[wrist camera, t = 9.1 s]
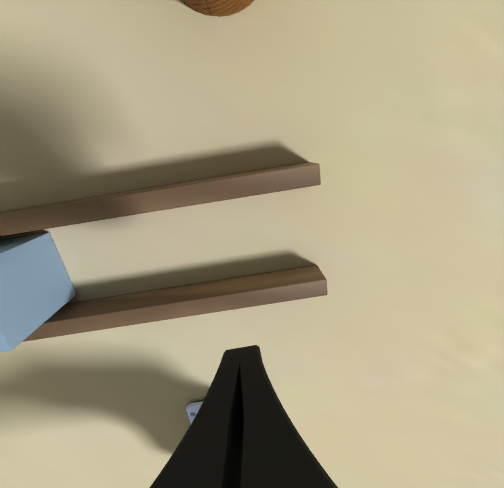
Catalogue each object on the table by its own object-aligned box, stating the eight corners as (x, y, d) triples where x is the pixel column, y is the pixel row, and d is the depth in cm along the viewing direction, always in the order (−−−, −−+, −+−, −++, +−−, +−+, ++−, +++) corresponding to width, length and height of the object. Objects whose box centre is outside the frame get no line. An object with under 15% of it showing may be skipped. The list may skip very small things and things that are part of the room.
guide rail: (317, 278, 20) (335, 308, 17) (3, 327, 21) (-49, 366, 17) (309, 162, 17) (327, 165, 14) (-58, 221, 18) (-138, 240, 14)
